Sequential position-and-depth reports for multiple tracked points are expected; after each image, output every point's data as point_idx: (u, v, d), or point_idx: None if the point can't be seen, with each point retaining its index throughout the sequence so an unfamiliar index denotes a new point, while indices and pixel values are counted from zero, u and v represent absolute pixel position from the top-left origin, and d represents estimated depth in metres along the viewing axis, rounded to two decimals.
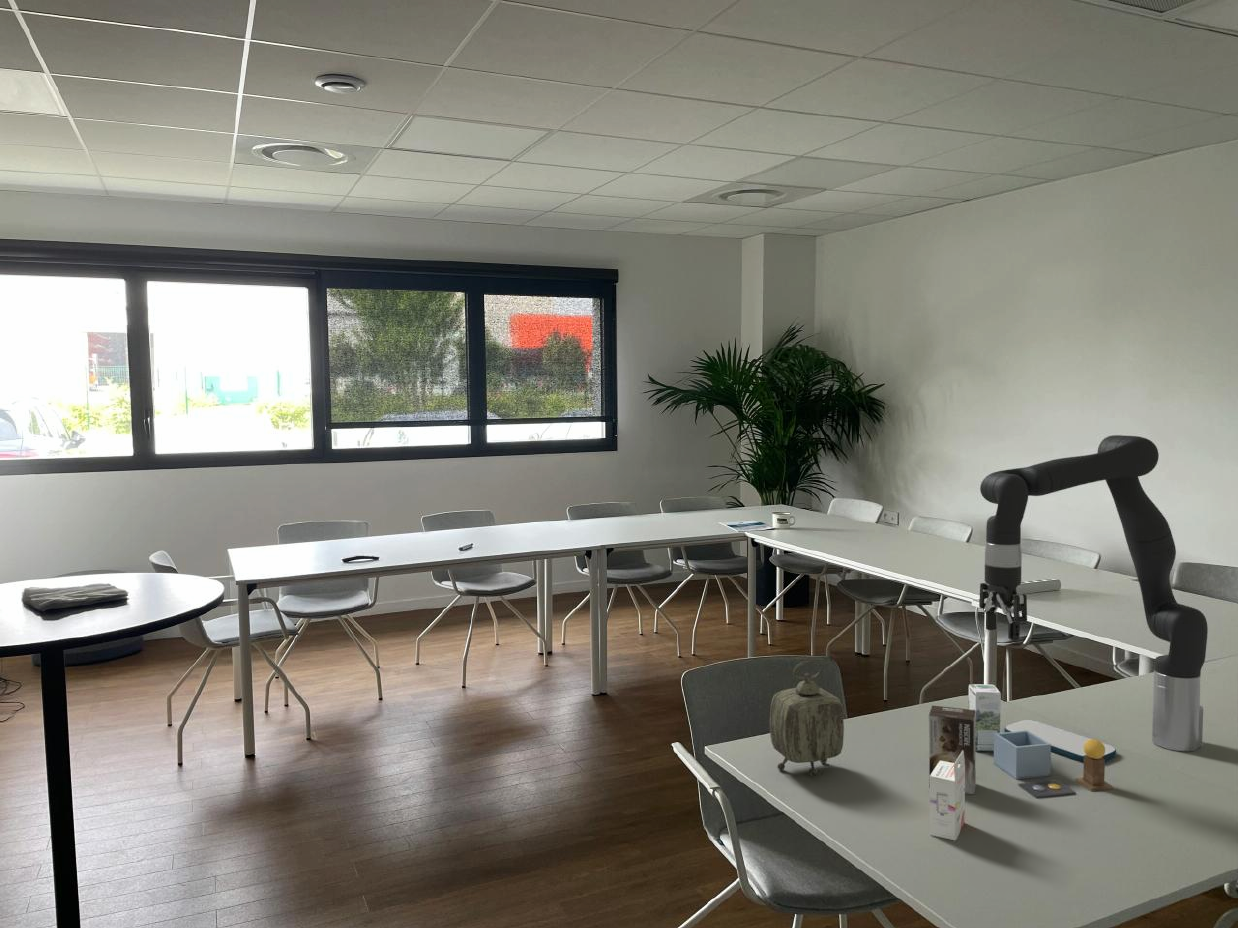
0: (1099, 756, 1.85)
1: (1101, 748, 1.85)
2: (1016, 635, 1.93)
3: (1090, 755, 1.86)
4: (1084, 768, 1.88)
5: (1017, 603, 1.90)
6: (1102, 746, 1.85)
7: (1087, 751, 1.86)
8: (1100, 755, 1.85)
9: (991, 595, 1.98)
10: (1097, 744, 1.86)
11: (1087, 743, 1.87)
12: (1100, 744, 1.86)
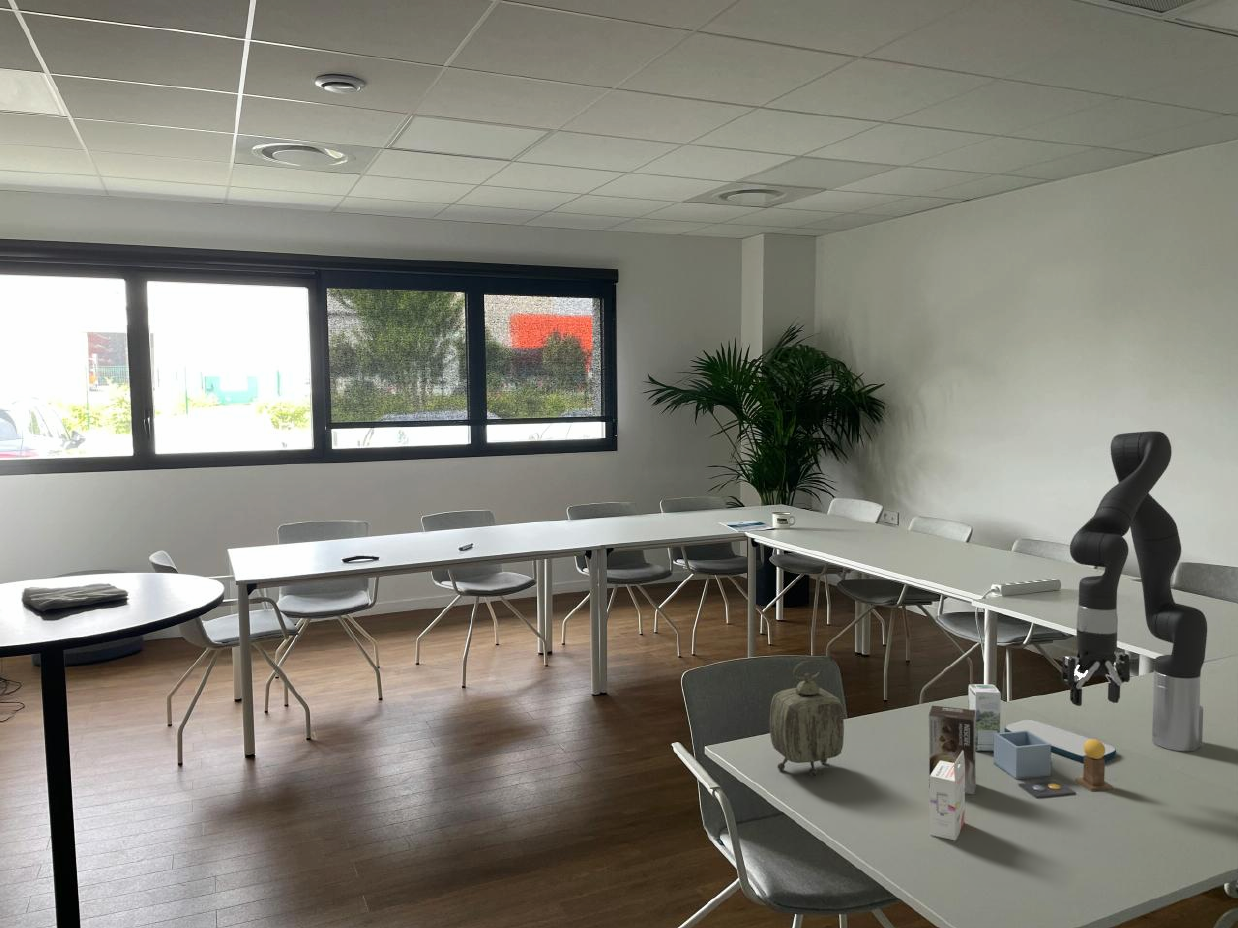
0: (1099, 756, 1.85)
1: (1101, 748, 1.85)
2: None
3: (1090, 755, 1.86)
4: (1084, 768, 1.88)
5: None
6: (1102, 746, 1.85)
7: (1087, 751, 1.86)
8: (1100, 755, 1.85)
9: (1097, 665, 1.83)
10: (1097, 744, 1.86)
11: (1087, 743, 1.87)
12: (1100, 744, 1.86)
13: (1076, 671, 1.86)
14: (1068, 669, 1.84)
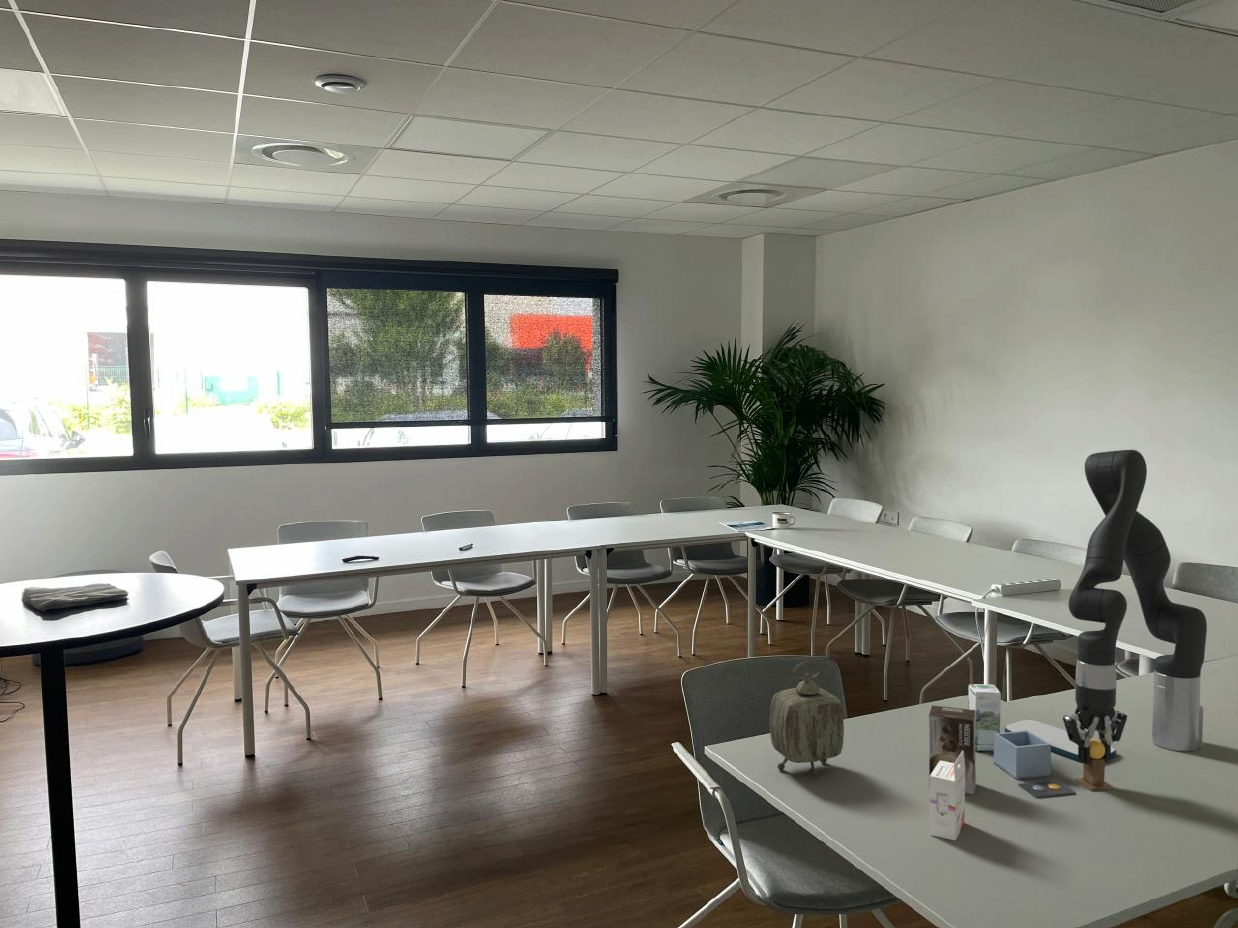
0: (1099, 756, 1.85)
1: (1101, 748, 1.85)
2: None
3: (1090, 755, 1.86)
4: (1084, 768, 1.88)
5: None
6: (1102, 746, 1.85)
7: None
8: (1100, 755, 1.85)
9: (1096, 720, 1.84)
10: (1097, 744, 1.86)
11: None
12: (1100, 744, 1.86)
13: (1080, 728, 1.87)
14: (1071, 730, 1.85)
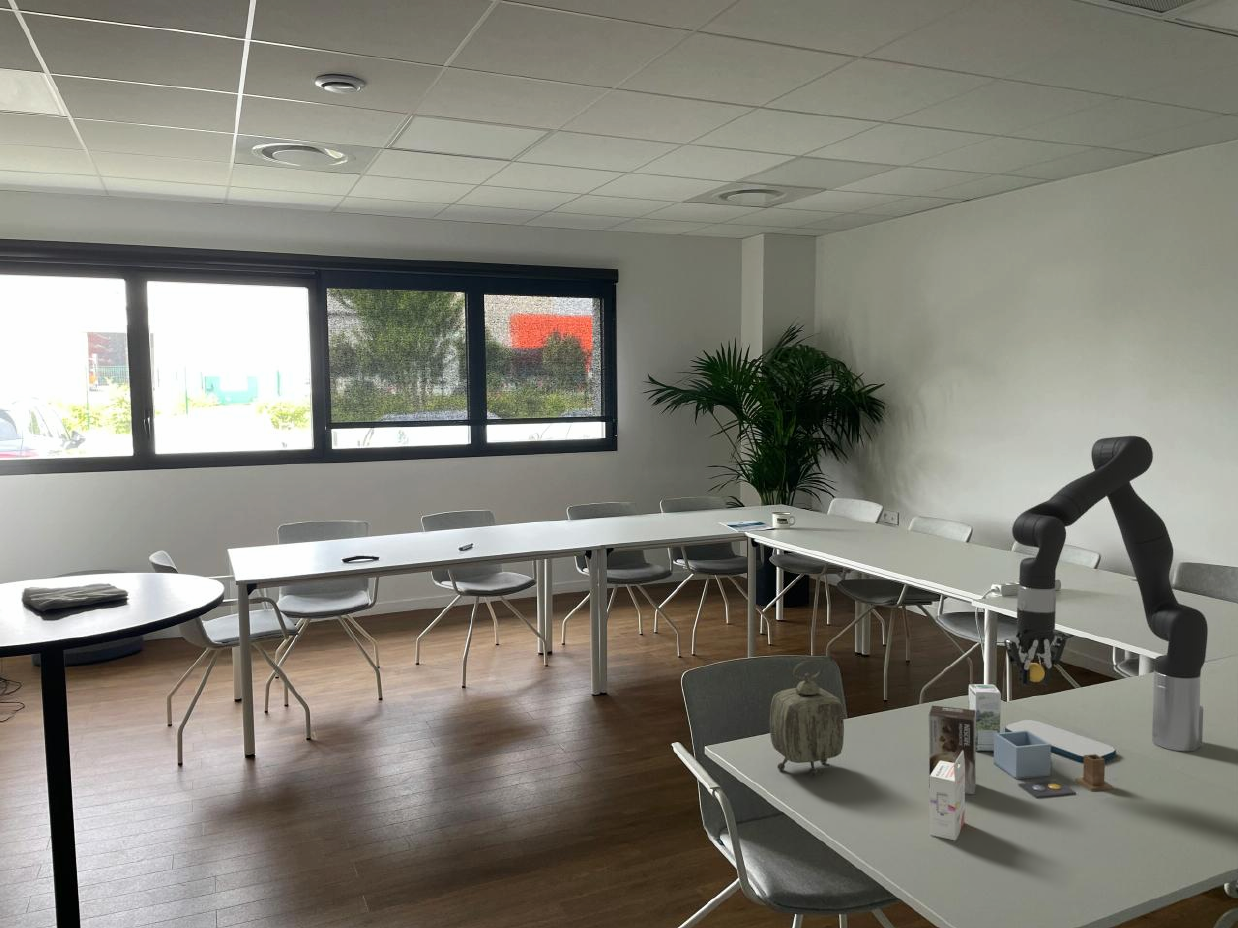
0: (1039, 679, 1.90)
1: (1040, 671, 1.90)
2: None
3: (1030, 678, 1.91)
4: (1084, 768, 1.88)
5: None
6: (1042, 669, 1.91)
7: None
8: (1040, 678, 1.90)
9: (1036, 643, 1.89)
10: (1037, 667, 1.91)
11: None
12: (1040, 667, 1.91)
13: (1020, 652, 1.92)
14: (1012, 653, 1.90)
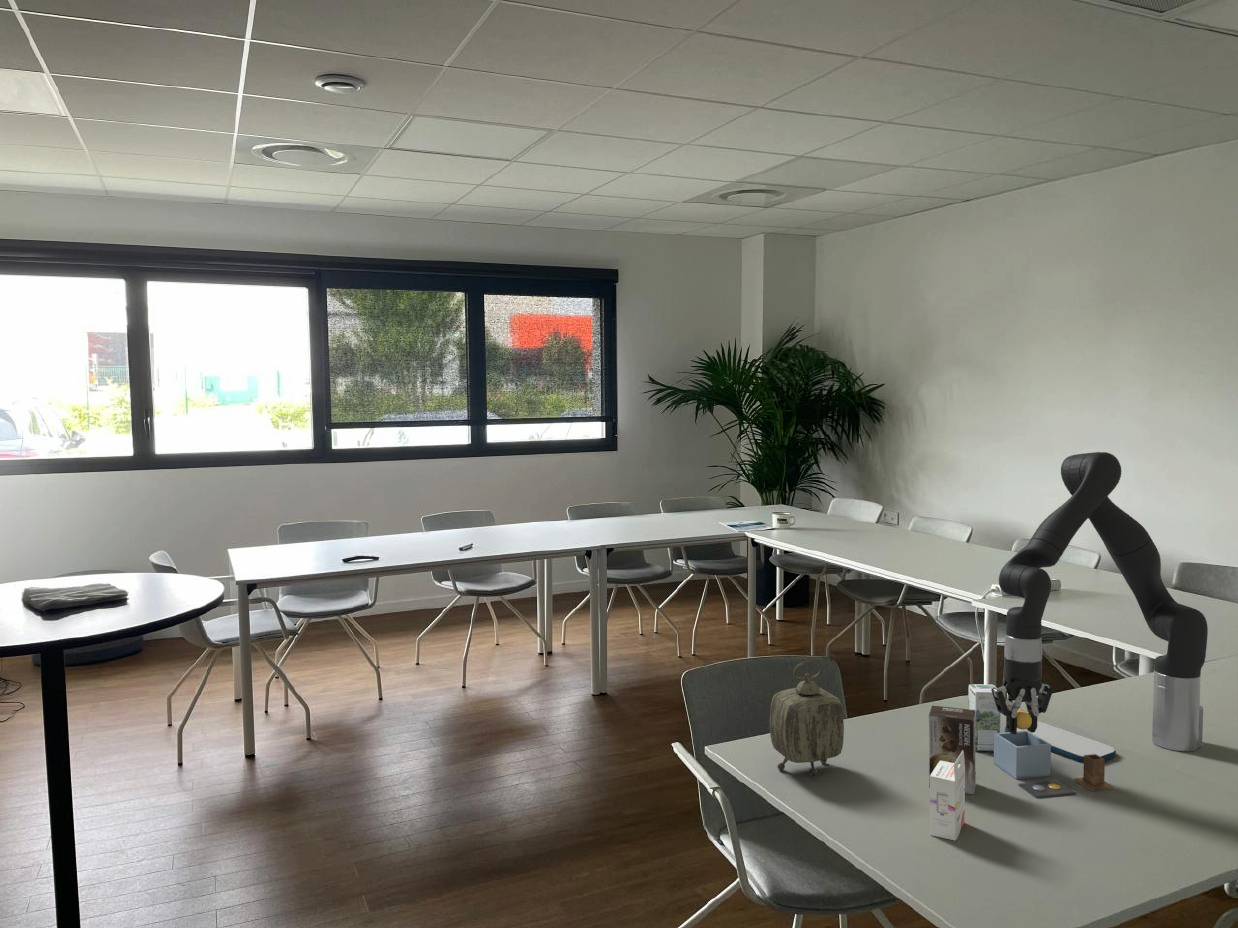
0: (1026, 726, 1.93)
1: (1027, 719, 1.93)
2: None
3: (1017, 726, 1.94)
4: (1084, 768, 1.88)
5: None
6: (1029, 717, 1.93)
7: None
8: (1027, 725, 1.93)
9: (1023, 692, 1.92)
10: (1024, 715, 1.93)
11: None
12: (1027, 715, 1.94)
13: (1008, 700, 1.95)
14: (999, 701, 1.93)
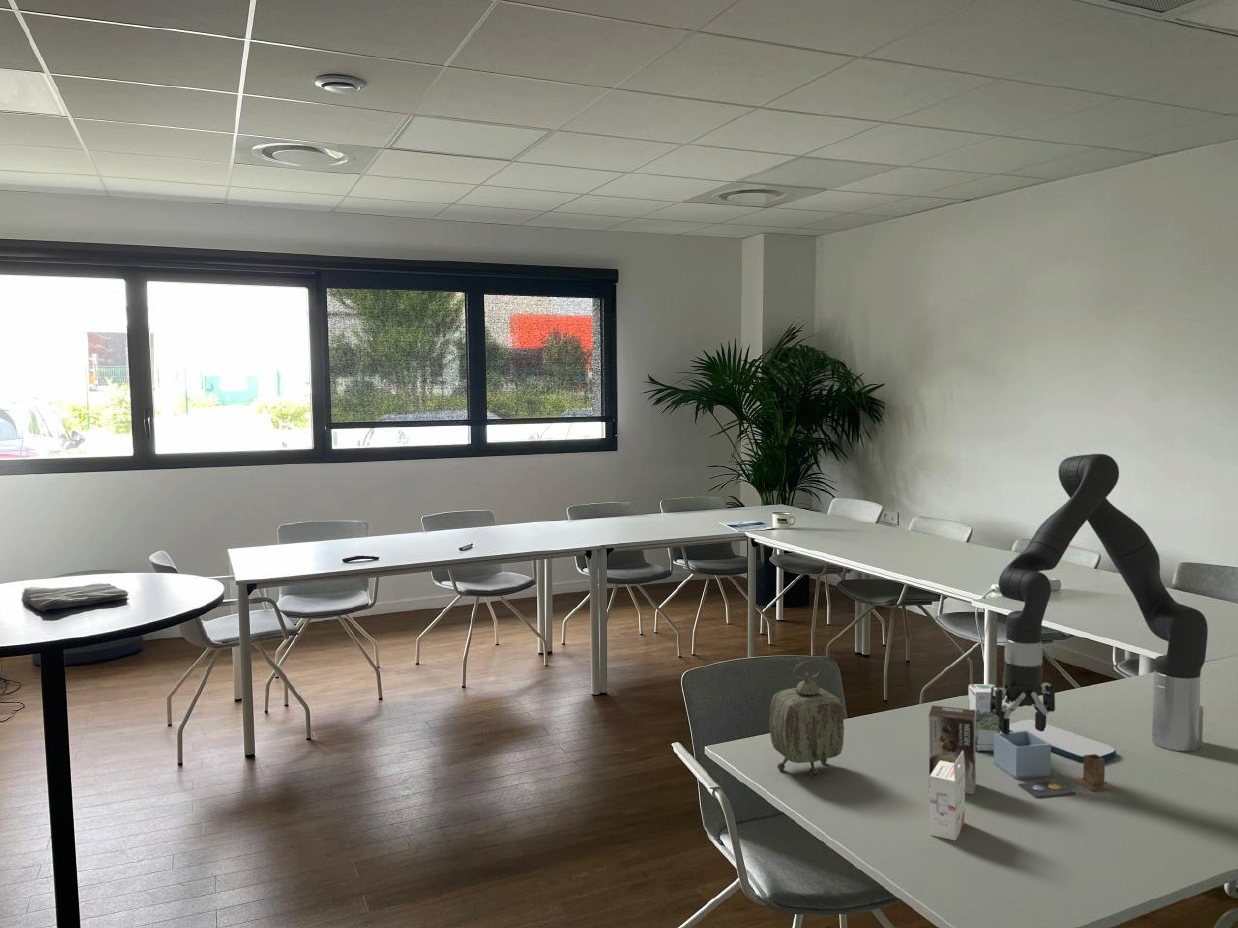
0: None
1: None
2: None
3: None
4: (1084, 768, 1.88)
5: None
6: None
7: None
8: None
9: (1023, 696, 1.92)
10: None
11: None
12: None
13: (1004, 701, 1.95)
14: (996, 700, 1.92)
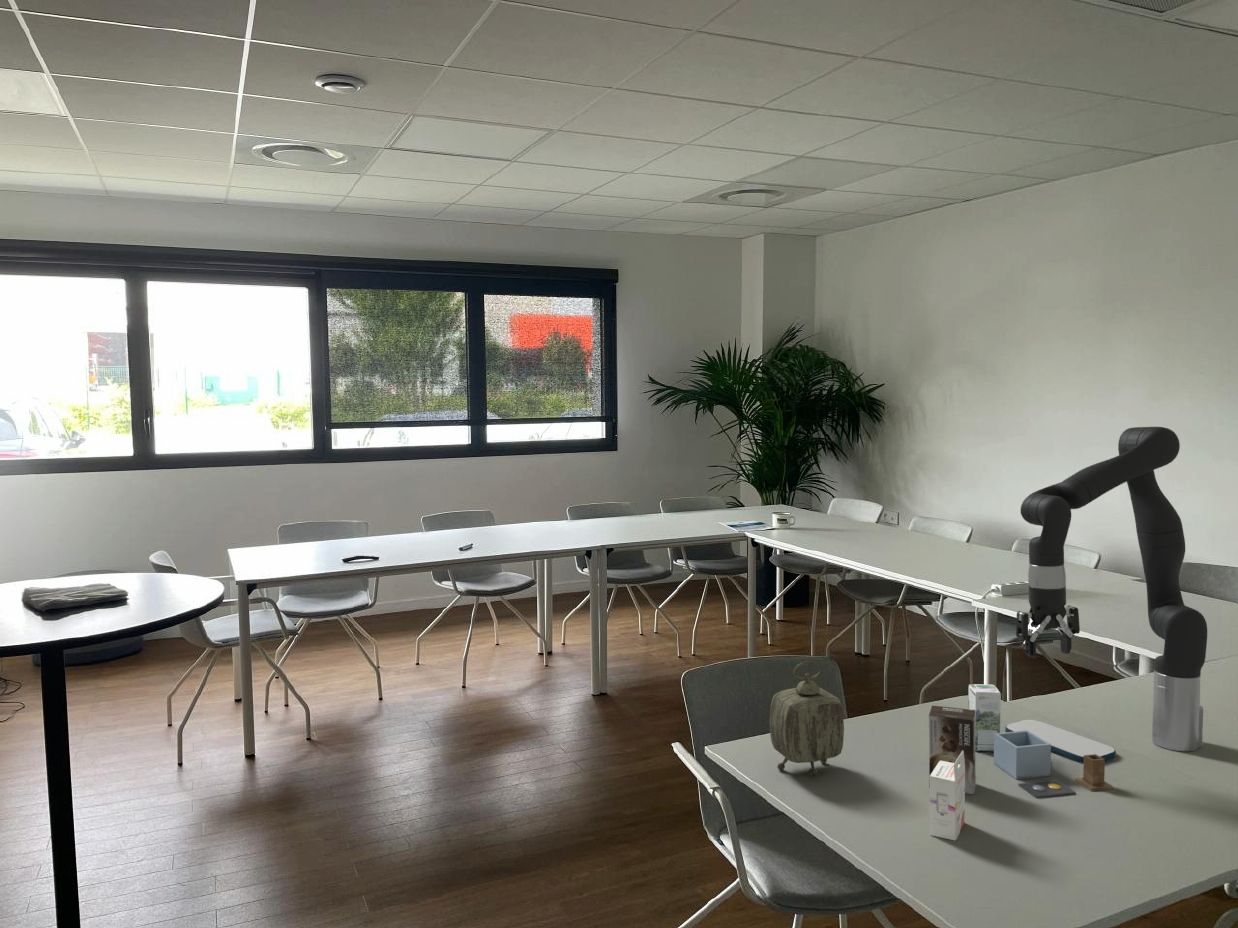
0: None
1: None
2: None
3: None
4: (1084, 768, 1.88)
5: None
6: None
7: None
8: None
9: (1048, 619, 1.96)
10: None
11: None
12: None
13: (1030, 626, 1.98)
14: (1022, 624, 1.96)
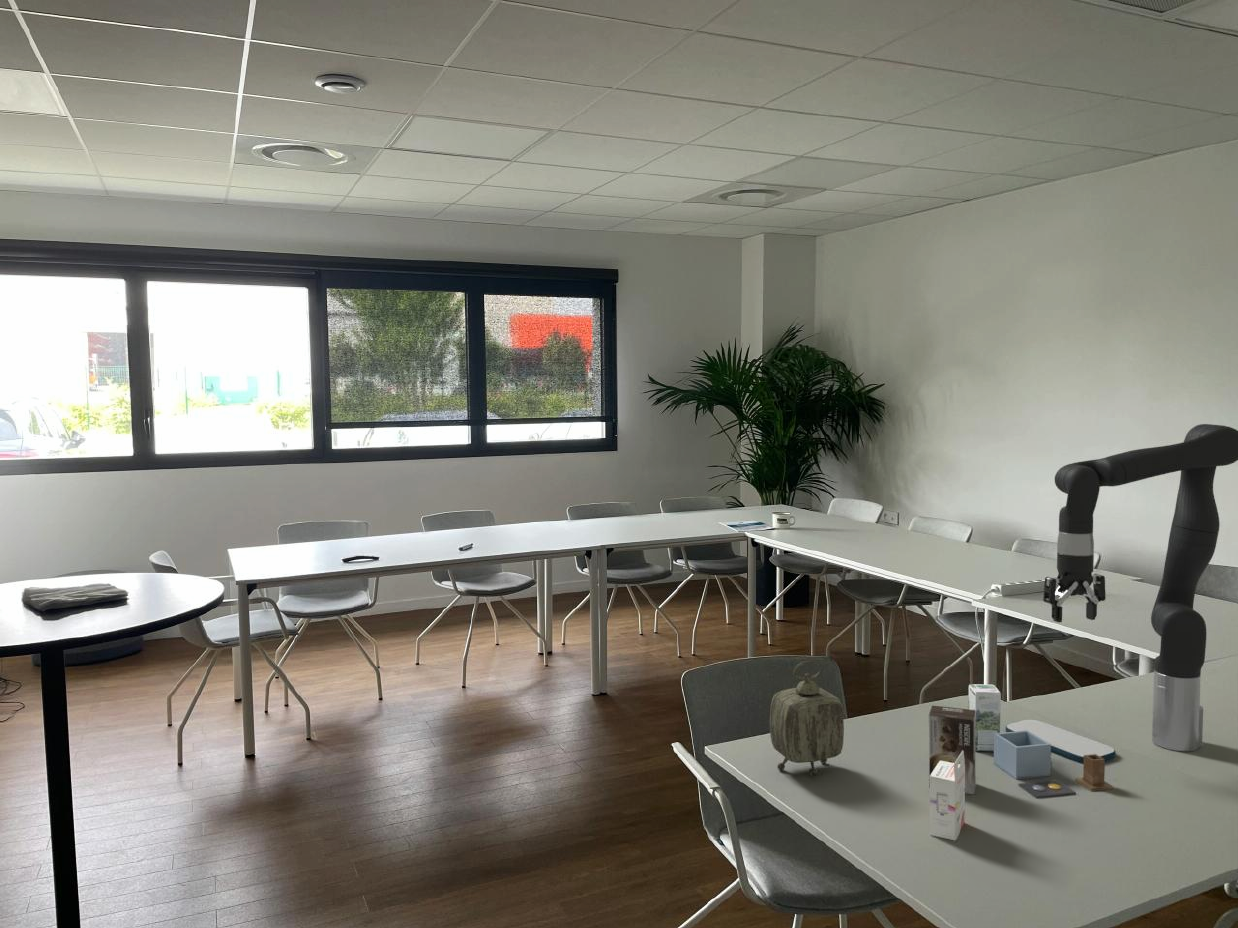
0: None
1: None
2: None
3: None
4: (1084, 768, 1.88)
5: None
6: None
7: None
8: None
9: (1075, 585, 2.03)
10: None
11: None
12: None
13: (1057, 591, 2.05)
14: (1049, 589, 2.03)
